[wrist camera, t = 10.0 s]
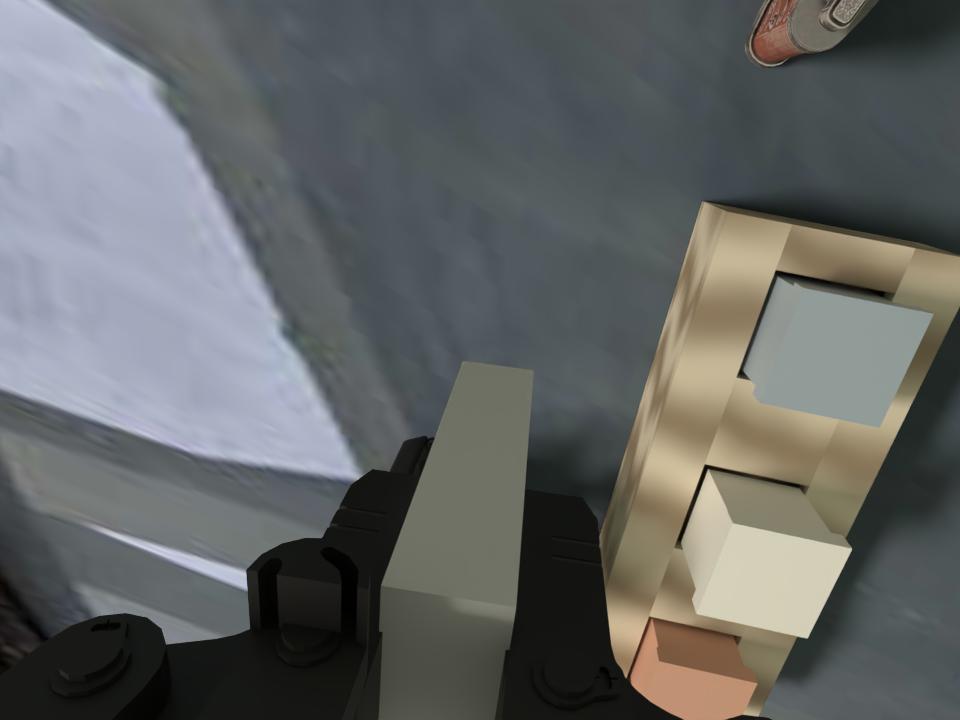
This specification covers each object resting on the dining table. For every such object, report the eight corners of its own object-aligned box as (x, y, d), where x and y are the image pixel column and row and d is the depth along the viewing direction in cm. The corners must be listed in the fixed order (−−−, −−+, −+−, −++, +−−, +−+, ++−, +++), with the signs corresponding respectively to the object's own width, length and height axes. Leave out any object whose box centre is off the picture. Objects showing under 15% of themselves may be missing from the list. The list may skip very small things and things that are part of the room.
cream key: (705, 464, 39) (732, 523, 33) (806, 485, 39) (852, 548, 33) (675, 545, 41) (696, 613, 36) (770, 565, 41) (807, 638, 35)
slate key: (762, 263, 37) (803, 288, 31) (870, 284, 36) (933, 313, 30) (727, 362, 39) (759, 402, 33) (828, 382, 39) (879, 427, 33)
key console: (702, 200, 39) (727, 211, 33) (918, 243, 38) (981, 261, 33) (568, 637, 53) (570, 697, 47) (726, 673, 52) (747, 737, 47)
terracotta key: (644, 593, 46) (659, 661, 40) (730, 612, 46) (757, 683, 40) (622, 656, 48) (632, 729, 42) (703, 674, 48) (725, 750, 42)
